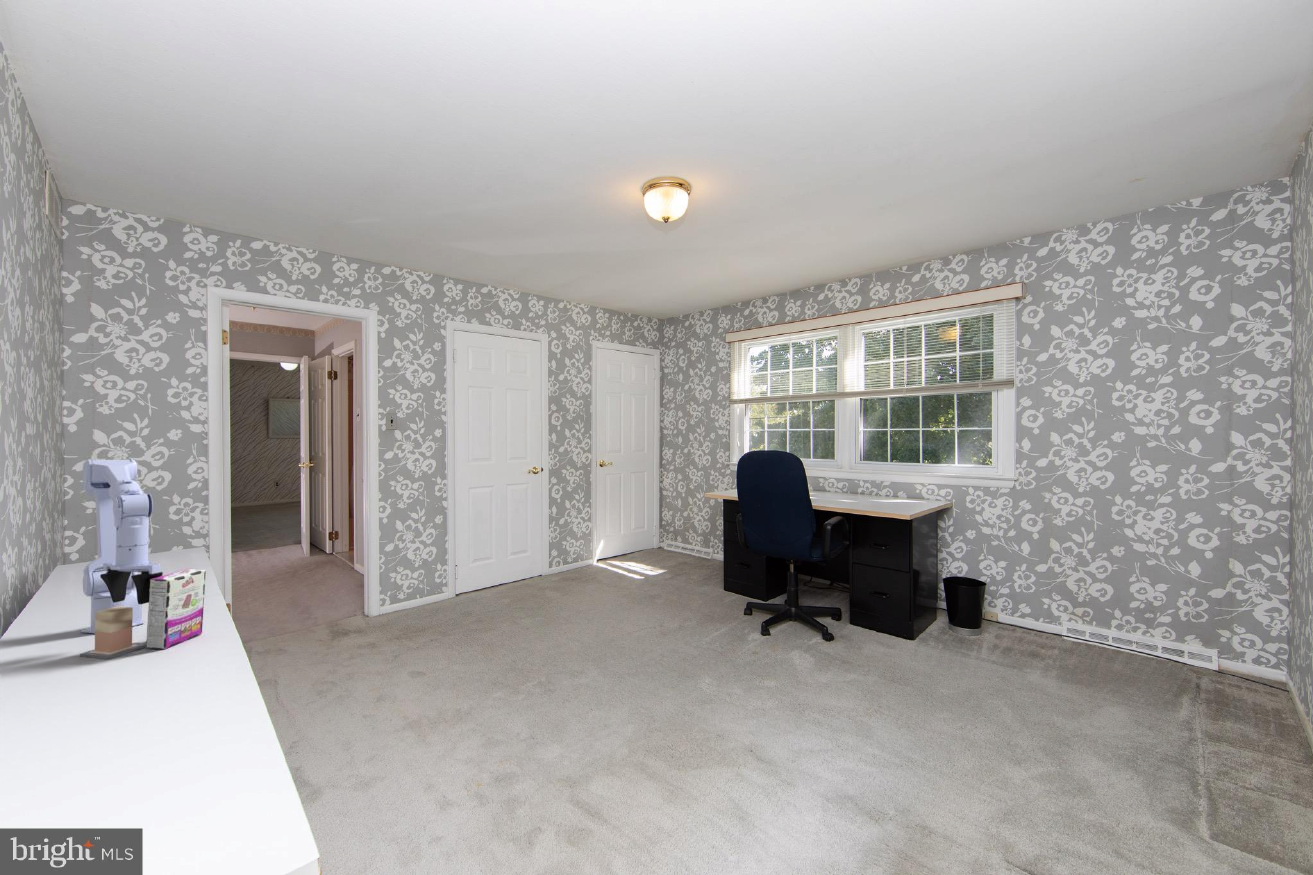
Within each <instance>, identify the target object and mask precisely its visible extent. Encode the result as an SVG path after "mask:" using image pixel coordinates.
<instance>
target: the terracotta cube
mask: <svg viewBox="0 0 1313 875" xmlns="http://www.w3.org/2000/svg"><path fill="white" fill-rule="evenodd" d="M132 643H133V626H132V627H130V628H126V629H123V630H119V631H116V632H112V633H106V632H95V633H94V649H95V651H97V652H108V653H111V652H114V651H117V650H121V649H124V648H127V647H130V646H132Z"/></svg>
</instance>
